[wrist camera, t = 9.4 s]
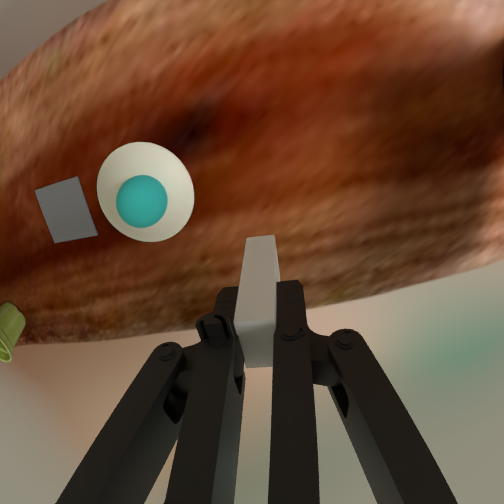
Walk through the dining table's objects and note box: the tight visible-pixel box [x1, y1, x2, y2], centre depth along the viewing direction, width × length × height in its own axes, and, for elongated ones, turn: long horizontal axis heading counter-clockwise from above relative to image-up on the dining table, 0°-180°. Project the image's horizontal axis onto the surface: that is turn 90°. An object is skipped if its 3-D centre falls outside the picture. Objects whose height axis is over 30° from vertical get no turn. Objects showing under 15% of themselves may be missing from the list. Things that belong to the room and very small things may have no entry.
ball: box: [116, 175, 168, 228], centre depth 31 cm, size 6×6×6 cm
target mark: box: [97, 142, 194, 242], centre depth 33 cm, size 12×12×1 cm
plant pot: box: [0, 302, 26, 362], centre depth 43 cm, size 9×9×9 cm
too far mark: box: [35, 176, 98, 243], centre depth 35 cm, size 8×8×1 cm
